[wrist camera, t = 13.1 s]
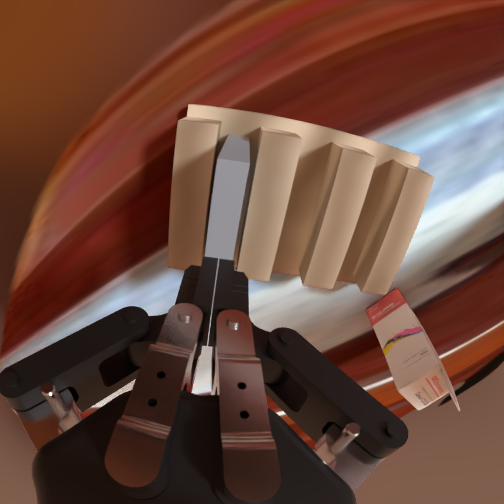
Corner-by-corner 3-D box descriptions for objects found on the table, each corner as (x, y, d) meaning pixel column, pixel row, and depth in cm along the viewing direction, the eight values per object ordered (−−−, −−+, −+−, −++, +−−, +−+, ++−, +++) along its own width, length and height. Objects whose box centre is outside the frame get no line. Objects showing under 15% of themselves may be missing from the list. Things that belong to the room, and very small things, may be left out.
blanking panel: (249, 137, 22) (249, 163, 14) (230, 247, 27) (223, 316, 19) (228, 133, 22) (217, 158, 14) (212, 245, 27) (199, 312, 19)
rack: (415, 154, 23) (437, 166, 20) (369, 279, 30) (382, 302, 27) (190, 104, 21) (179, 106, 18) (176, 253, 28) (167, 276, 25)
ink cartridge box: (362, 309, 32) (404, 418, 20) (397, 285, 31) (453, 388, 18) (389, 341, 36) (425, 433, 23) (419, 321, 34) (464, 409, 21)
